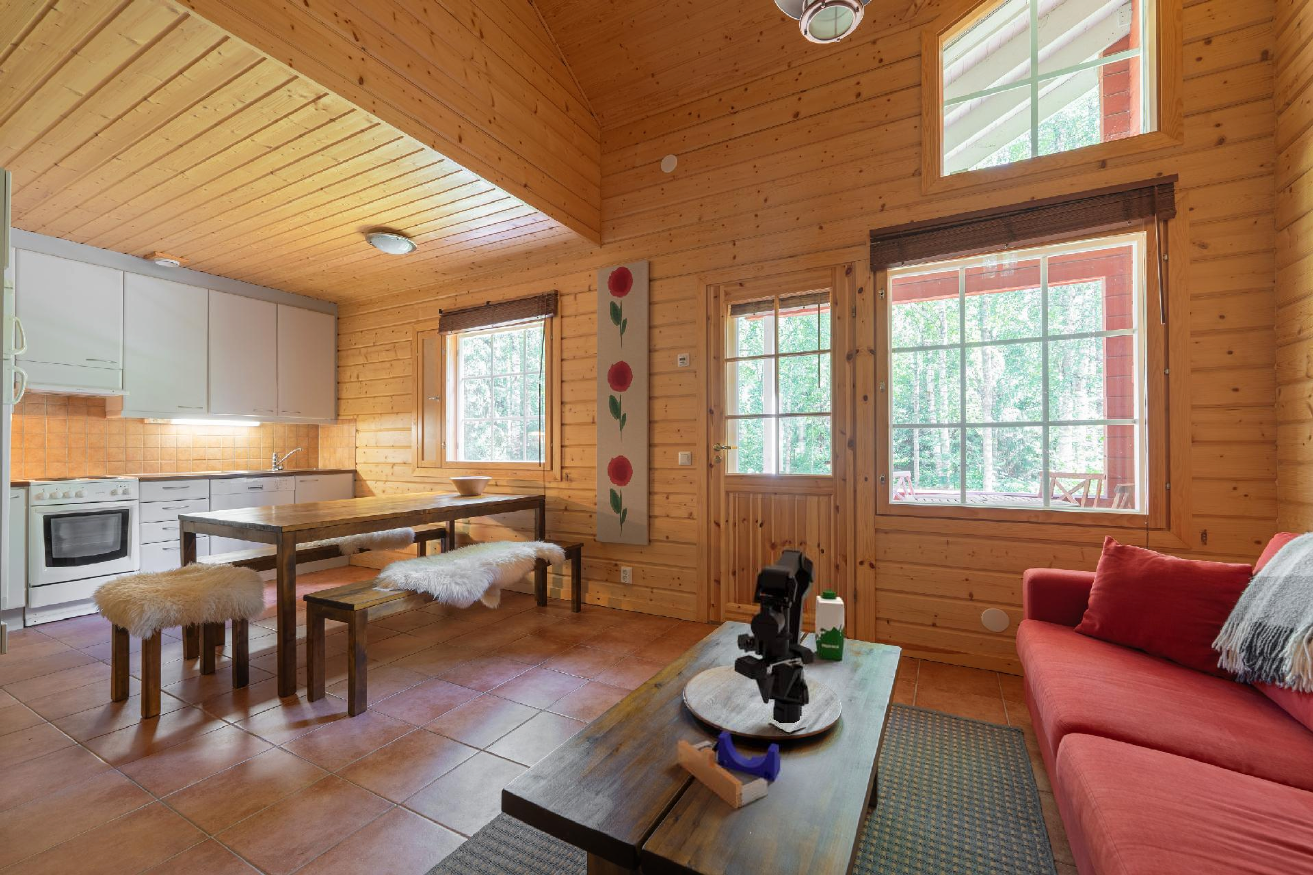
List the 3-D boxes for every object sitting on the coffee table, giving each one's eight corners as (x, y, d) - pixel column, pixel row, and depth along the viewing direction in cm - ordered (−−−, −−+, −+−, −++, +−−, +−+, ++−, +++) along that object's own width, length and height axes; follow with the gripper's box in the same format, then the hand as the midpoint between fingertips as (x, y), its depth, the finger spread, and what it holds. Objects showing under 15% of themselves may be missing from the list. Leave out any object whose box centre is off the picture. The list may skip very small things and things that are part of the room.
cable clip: (780, 771, 117) (780, 741, 117) (774, 782, 113) (774, 751, 113) (725, 755, 123) (725, 727, 123) (717, 765, 119) (718, 736, 119)
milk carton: (841, 651, 187) (842, 590, 187) (845, 661, 178) (846, 597, 178) (813, 649, 188) (814, 588, 188) (816, 659, 179) (817, 595, 179)
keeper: (707, 751, 124) (707, 722, 124) (767, 794, 109) (767, 760, 109) (677, 762, 119) (678, 731, 119) (735, 808, 104) (736, 773, 104)
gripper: (778, 611, 135) (777, 677, 135) (718, 624, 124) (716, 696, 124) (815, 624, 126) (814, 695, 125) (753, 639, 115) (752, 716, 115)
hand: (774, 700), depth 123 cm, fingers open, 5 cm apart
